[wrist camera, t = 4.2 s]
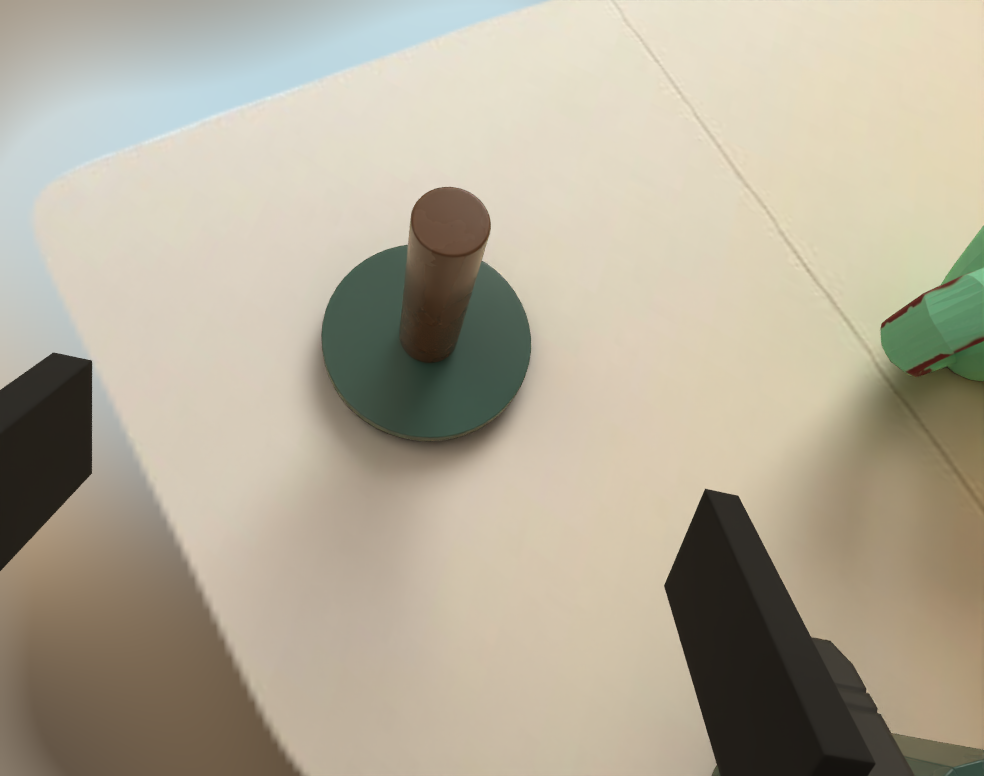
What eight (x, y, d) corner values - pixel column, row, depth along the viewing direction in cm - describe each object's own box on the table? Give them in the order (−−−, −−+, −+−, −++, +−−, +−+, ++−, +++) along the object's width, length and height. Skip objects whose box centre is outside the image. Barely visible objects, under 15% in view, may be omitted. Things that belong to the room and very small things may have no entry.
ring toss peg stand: (335, 458, 30) (320, 372, 20) (312, 265, 32) (288, 106, 22) (543, 430, 31) (619, 338, 22) (505, 249, 34) (559, 94, 24)
